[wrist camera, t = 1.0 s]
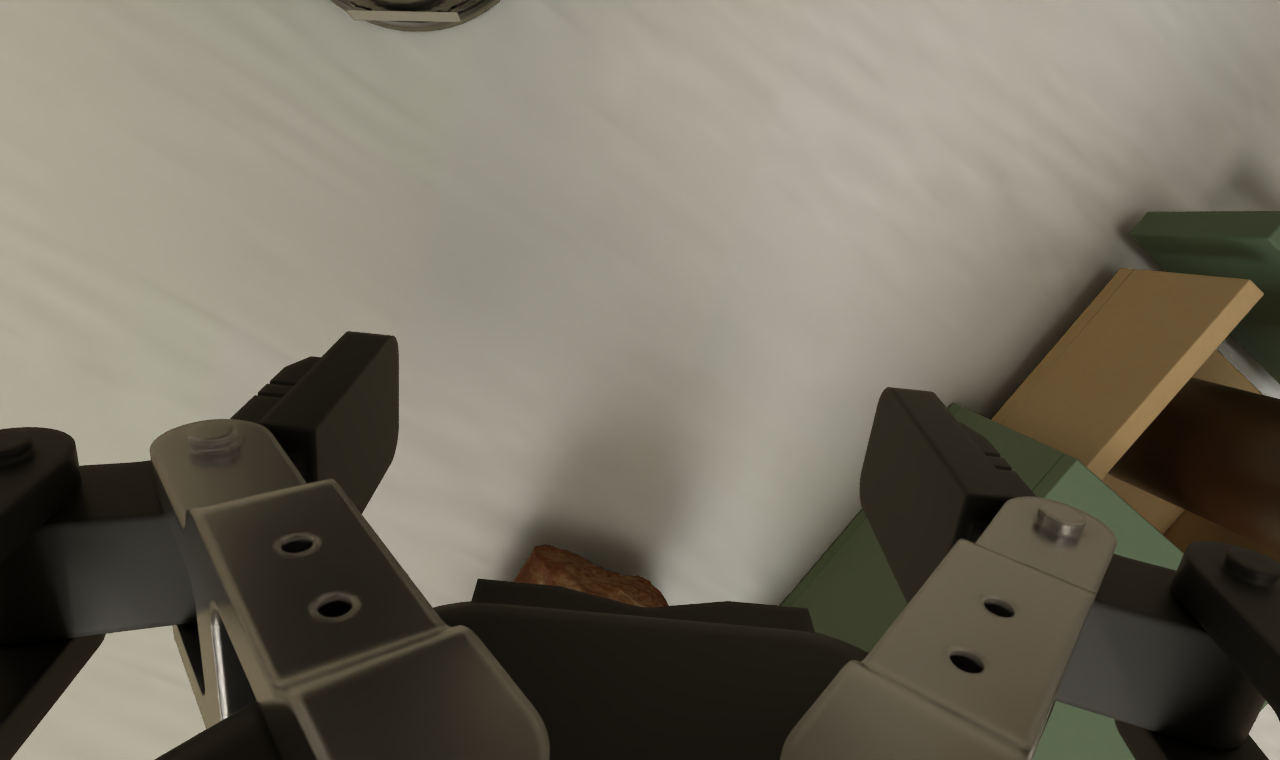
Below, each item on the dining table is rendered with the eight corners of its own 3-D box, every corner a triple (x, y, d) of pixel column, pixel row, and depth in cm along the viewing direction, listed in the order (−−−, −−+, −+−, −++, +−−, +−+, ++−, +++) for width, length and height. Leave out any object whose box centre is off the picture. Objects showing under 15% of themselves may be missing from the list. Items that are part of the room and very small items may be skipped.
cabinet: (952, 402, 35) (1077, 458, 27) (1141, 565, 38) (1307, 661, 30) (735, 657, 36) (792, 786, 28) (933, 798, 39) (1038, 953, 31)
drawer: (1218, 127, 33) (1383, 106, 27) (1380, 301, 36) (1569, 321, 29) (930, 465, 35) (1020, 523, 28) (1105, 611, 37) (1226, 696, 31)
